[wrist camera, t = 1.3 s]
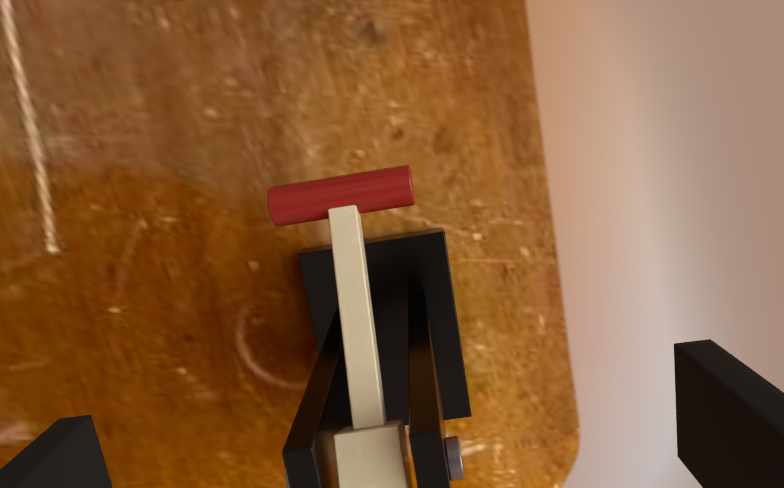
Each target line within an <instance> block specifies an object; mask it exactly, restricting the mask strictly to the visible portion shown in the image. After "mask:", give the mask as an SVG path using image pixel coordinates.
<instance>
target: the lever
mask: <svg viewBox="0 0 784 488" xmlns="http://www.w3.org/2000/svg"><path fill="white" fill-rule="evenodd" d="M414 204H415V198H414V191H413V185H412V178H411V172H410V167H409V165H403V166H397V167H391V168H385V169H379V170H373V171H366V172H360V173H354V174H348V175H342V176H336V177H330V178H324V179H317V180H311V181H305V182H299V183H293V184H287V185H281V186H274V187H271V188H269V190H268V207H269V212H270V216H271V218H272V221H273V223H274V224H275V225H276V226H285V225H291V224H297V223H304V222H310V221H316V220H323V219H329V224H330V233H331V242H332V250H333V259H334V268H335V276H336V285H337V294H338V303H339V311H340V320H341V329H342V337H343V346H344V355H345V363H346V372H347V381H348V390H349V398H350V407H351V416H352V424H353V426H349V427H346V428H344V429H343V430H341V431H340V432H338V433H337V434H335V435H334V444H335V454H336V463H337V472H338V482H339V488H413V485H412V478H411V471H410V463H409V456H408V449H407V441H406V434H405V426H404V420H402V419H401V420H394V421H387V419H386V412H385V404H384V396H383V388H382V381H381V373H380V365H379V357H378V349H377V342H376V334H375V326H374V318H373V311H372V303H371V295H370V287H369V279H368V272H367V264H366V256H365V248H364V241H363V233H362V225H361V217H360V214H361V213H367V212H373V211H379V210H386V209H392V208H398V207H405V206H411V205H414Z"/></svg>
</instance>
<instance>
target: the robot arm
mask: <svg viewBox="0 0 784 488" xmlns="http://www.w3.org/2000/svg"><path fill="white" fill-rule="evenodd" d="M674 357H675V358H674V359H675V389H676V419H677V447H678V457H679V458H680V460H681V461H682V462H683V463H684V465H685V466H686V467H687V468H688V470H689V471H690V472H691V473H692V475H693V476H694V477H695V478H696V479H697V481H698V482H699V483H700V485H701V486H702V487H703V488H784V393H783V392H782V391H781V390H779V389H778V388H776V387H775V386H774V385H772V384H771V383H770V382H768V381H767V380H765V379H764V378H763V377H761V376H760V375H758V374H757V373H756V372H754V371H753V370H752V369H750V368H749V367H748V366H746V365H745V364H744V363H742V362H741V361H739V360H738V359H737V358H735V357H734V356H733V355H731V354H730V353H728V352H727V351H726V350H724V349H723V348H722V347H720V346H719V345H717V344H716V343H715V342H713V341H712V340H710V339H709V340H701V341H693V342H684V343H676V344H674ZM0 488H112V484H111V481H110V478H109V474H108V471H107V467H106V464H105V461H104V457H103V454H102V450H101V447H100V444H99V440H98V437H97V433H96V430H95V427H94V423H93V420H92V417H91V415H86V416H78V417H69V418H61V419H58V420H57V421H56V422H55V423H54V424H53V425H51V426H50V427H49V428H48V429H47V430H46V431H44V432H43V433H42V434H41V435H40V436H39V437H37V438H36V439H35V440H34V441H33V442H32V443H31V444H29V445H28V446H27V447H26V448H25V449H24V450H22V451H21V452H20V453H19V454H18V455H17V456H16V457H14V458H13V459H12V460H11V461H10V462H9V463H7V464H6V465H5V466H4V467H3V468H2V469H1V470H0Z"/></svg>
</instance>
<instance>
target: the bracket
mask: <svg viewBox="0 0 784 488" xmlns="http://www.w3.org/2000/svg"><path fill="white" fill-rule="evenodd" d="M363 241H364V248H365V256H366V264H367V272H368V279H369V287H370V295H371V303H372V311H373V318H374V326H375V334H376V342H377V349H378V357H379V365H380V373H381V381H382V388H383V396H384V404H385V412H386V419H387V421H394V420H401V419H402V420H404V425H409V440H410V445H411V451H412V457H413V463H414V468H415V474H416V480H417V486H418V488H452V481H456V480H463V479H464V478H465V477H464V470H463V463H462V457H461V451H460V444H459V438H458V437H457V436H454V437H447V438H446V433H445V425H444V420H448V419H456V418H463V417H470V416H471V410H470V403H469V396H468V389H467V382H466V376H465V369H464V362H463V355H462V348H461V341H460V334H459V328H458V321H457V314H456V307H455V300H454V293H453V287H452V280H451V273H450V266H449V259H448V252H447V246H446V239H445V232H444V229H443V228H436V229H430V230H423V231H417V232H410V233H404V234H398V235H391V236H385V237H378V238H372V239H365V240H363ZM298 256H299V261H300V266H301V270H302V275H303V280H304V285H305V290H306V295H307V300H308V304H309V309H310V314H311V319H312V324H313V329H314V334H315V338H316V343H317V348H318V353H319V356H318V358H317V361H316V364H315V366H314V369H313V372H312V374H311V377H310V380H309V382H308V385H307V387H306V390H305V393H304V395H303V398H302V401H301V403H300V406H299V409H298V411H297V414H296V416H295V419H294V422H293V424H292V427H291V430H290V432H289V435H288V438H287V440H286V443H285V446H284V448H283V451H282V456H283V460H284V464H285V469H286V487H287V488H339V482H338V472H337V463H336V454H335V444H334V435H335V434H337V433H338V432H340V431H341V430H343V429H344V428H346V427H349V426H353V424H352V416H351V407H350V398H349V390H348V381H347V372H346V363H345V355H344V346H343V337H342V329H341V320H340V311H339V303H338V294H337V285H336V276H335V268H334V259H333V250H332V245H327V246H320V247H314V248H308V249H303V250H302V251H301V252H300V253H299V254H298Z"/></svg>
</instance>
